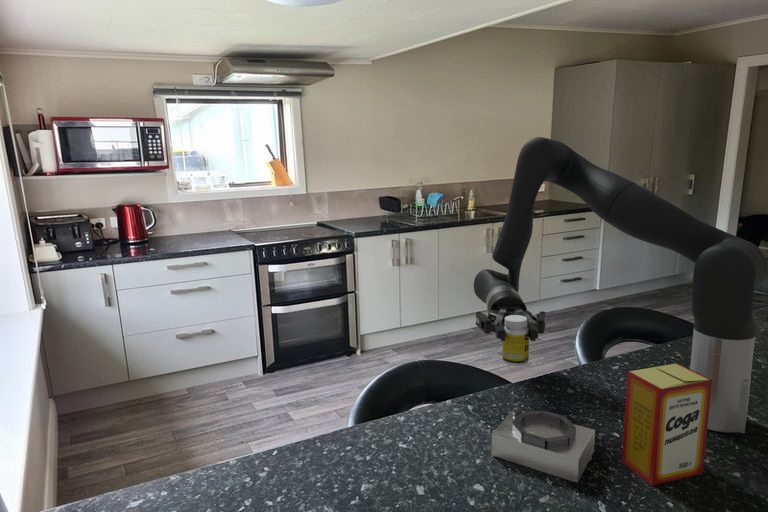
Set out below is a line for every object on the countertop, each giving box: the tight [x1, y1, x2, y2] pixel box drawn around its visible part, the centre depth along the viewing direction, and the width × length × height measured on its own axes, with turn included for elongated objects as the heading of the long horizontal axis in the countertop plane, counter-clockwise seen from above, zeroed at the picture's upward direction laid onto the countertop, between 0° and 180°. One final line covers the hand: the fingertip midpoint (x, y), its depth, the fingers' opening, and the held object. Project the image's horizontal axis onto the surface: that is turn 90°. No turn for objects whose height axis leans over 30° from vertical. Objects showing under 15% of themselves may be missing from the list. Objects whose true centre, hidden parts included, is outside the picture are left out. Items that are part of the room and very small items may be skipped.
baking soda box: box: [621, 363, 712, 487], centre depth 82 cm, size 10×6×16 cm
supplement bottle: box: [501, 315, 530, 367], centre depth 97 cm, size 5×5×8 cm
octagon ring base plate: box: [491, 406, 596, 484], centre depth 88 cm, size 14×10×5 cm
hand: (518, 335), depth 94 cm, fingers closed on supplement bottle, 4 cm apart
